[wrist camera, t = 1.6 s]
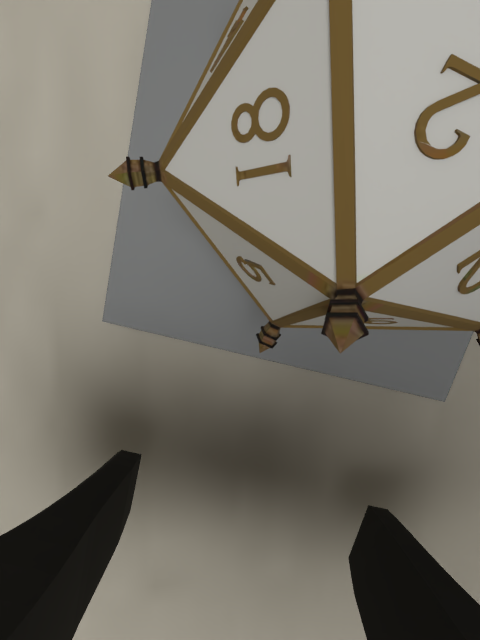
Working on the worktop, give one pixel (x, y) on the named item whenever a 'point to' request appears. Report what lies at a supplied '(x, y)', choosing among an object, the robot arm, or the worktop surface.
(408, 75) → the game die
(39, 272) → the worktop surface
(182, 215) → the tricolour rectangular mat
